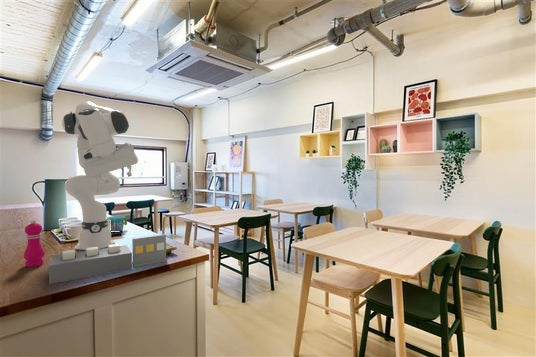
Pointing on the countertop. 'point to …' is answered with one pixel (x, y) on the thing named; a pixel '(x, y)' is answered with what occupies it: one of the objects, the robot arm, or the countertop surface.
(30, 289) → the countertop surface
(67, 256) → the key left
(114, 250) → the key right
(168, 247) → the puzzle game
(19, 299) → the countertop surface
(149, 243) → the card
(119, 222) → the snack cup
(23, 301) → the countertop surface
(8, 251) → the countertop surface
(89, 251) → the key middle
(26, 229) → the pepper mill
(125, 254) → the console
